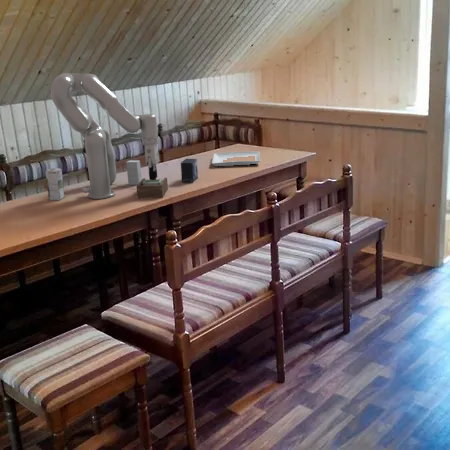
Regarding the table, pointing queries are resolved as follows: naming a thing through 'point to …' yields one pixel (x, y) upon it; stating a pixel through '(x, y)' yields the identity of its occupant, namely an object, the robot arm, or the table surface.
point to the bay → (152, 190)
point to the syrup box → (55, 184)
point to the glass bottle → (110, 158)
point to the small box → (189, 170)
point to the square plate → (220, 157)
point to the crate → (152, 182)
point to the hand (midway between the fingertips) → (153, 178)
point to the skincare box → (133, 172)
